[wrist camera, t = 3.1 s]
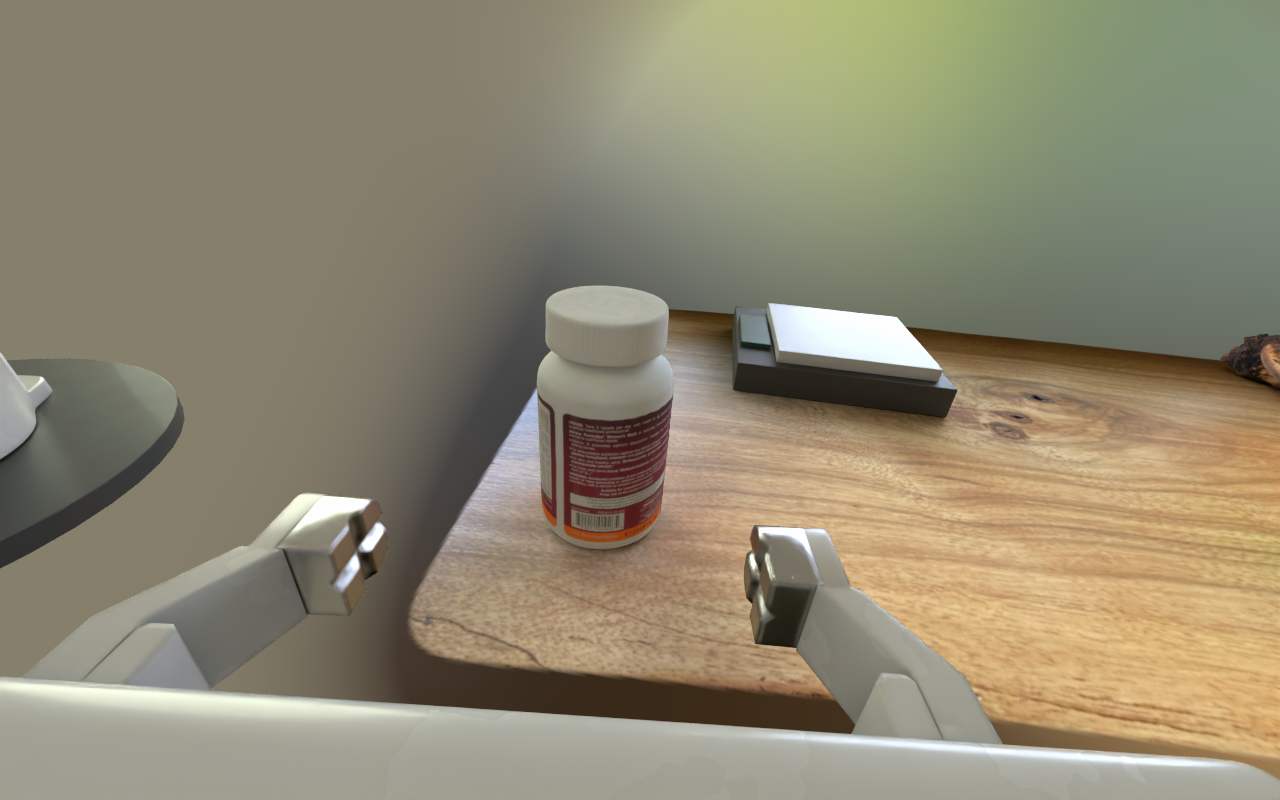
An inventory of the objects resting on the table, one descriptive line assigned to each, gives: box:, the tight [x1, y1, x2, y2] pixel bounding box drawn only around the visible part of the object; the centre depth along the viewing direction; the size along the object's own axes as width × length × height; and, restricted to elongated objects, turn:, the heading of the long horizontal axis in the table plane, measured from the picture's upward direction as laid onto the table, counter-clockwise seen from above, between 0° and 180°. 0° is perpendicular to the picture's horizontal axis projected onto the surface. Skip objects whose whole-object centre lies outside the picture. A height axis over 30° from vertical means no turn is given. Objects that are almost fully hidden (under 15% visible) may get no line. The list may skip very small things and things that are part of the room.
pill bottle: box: [537, 286, 674, 549], centre depth 24 cm, size 6×6×11 cm
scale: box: [732, 303, 957, 417], centre depth 44 cm, size 16×14×3 cm
